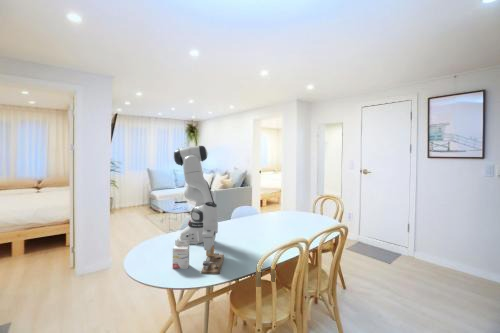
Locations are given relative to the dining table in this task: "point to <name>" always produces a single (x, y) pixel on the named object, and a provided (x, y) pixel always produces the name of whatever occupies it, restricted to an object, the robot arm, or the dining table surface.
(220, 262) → the board
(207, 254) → the slider
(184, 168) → the robot arm
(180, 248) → the ink cartridge box
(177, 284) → the dining table surface
